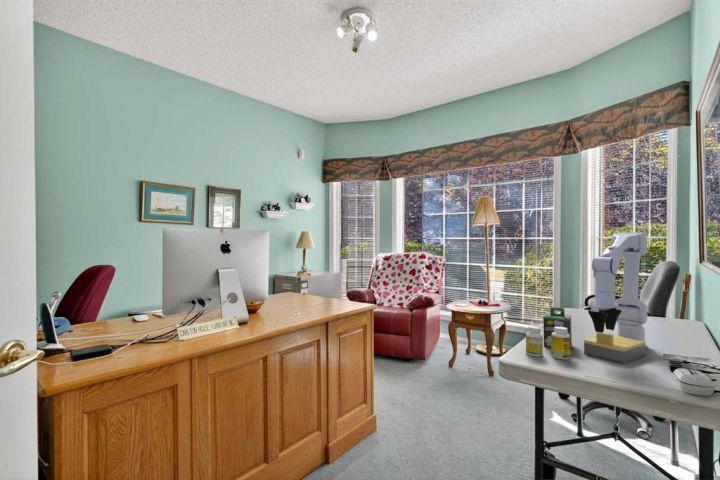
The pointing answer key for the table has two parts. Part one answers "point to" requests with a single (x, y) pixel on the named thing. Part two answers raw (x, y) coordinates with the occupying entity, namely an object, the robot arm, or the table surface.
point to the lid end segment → (607, 342)
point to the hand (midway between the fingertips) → (604, 330)
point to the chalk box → (555, 325)
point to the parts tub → (617, 355)
